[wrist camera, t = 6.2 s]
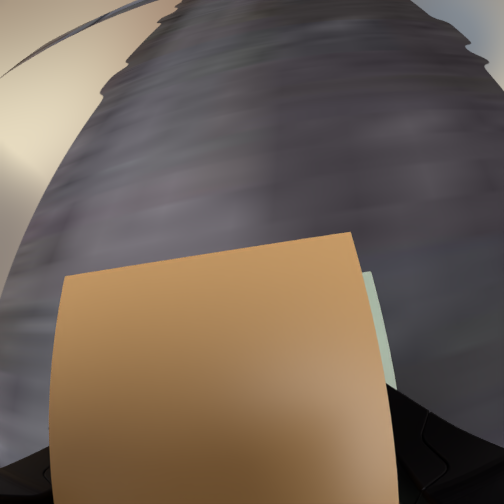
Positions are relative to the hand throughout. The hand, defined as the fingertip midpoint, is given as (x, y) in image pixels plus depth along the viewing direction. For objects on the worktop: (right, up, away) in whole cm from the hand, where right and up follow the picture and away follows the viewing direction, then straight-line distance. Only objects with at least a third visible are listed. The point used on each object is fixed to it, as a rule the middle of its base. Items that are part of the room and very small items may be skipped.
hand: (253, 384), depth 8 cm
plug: (+1, -4, +4) cm, 6 cm away
